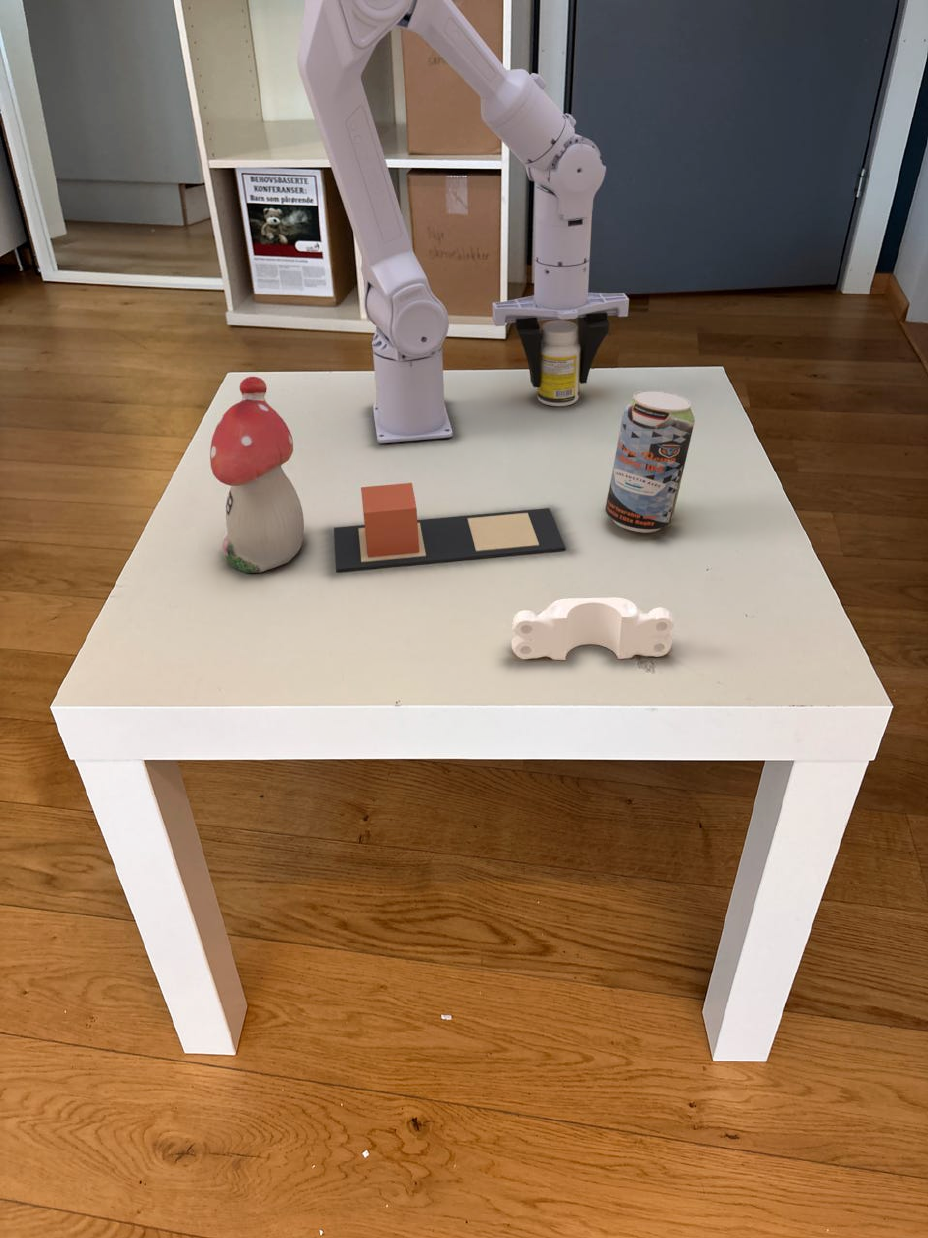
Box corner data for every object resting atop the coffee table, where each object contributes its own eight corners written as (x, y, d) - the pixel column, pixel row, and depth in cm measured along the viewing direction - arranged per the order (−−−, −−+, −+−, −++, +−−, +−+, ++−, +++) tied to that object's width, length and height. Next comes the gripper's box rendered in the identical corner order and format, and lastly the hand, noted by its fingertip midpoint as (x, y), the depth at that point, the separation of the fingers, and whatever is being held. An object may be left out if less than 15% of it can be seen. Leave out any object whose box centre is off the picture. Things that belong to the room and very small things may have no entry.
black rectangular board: (334, 530, 90) (334, 526, 89) (549, 510, 91) (549, 506, 91) (336, 572, 84) (336, 568, 84) (565, 550, 86) (565, 546, 85)
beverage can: (591, 526, 89) (598, 402, 82) (638, 495, 93) (648, 375, 86) (649, 550, 85) (662, 423, 78) (695, 517, 90) (711, 394, 82)
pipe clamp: (666, 637, 75) (671, 595, 73) (672, 657, 73) (677, 615, 71) (510, 640, 76) (510, 599, 73) (511, 660, 74) (511, 618, 71)
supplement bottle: (551, 386, 114) (553, 315, 109) (586, 395, 112) (590, 323, 107) (529, 401, 111) (529, 328, 106) (564, 410, 109) (567, 337, 104)
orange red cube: (365, 530, 88) (360, 486, 86) (414, 526, 89) (411, 482, 86) (367, 557, 85) (363, 512, 82) (419, 552, 85) (416, 507, 83)
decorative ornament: (267, 519, 91) (241, 365, 83) (327, 532, 89) (308, 376, 80) (207, 570, 85) (172, 409, 76) (271, 586, 82) (243, 422, 73)
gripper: (499, 274, 98) (500, 401, 106) (640, 265, 100) (630, 391, 108) (489, 254, 104) (490, 376, 112) (622, 245, 105) (614, 366, 113)
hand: (558, 382), depth 110 cm, fingers closed on supplement bottle, 5 cm apart
